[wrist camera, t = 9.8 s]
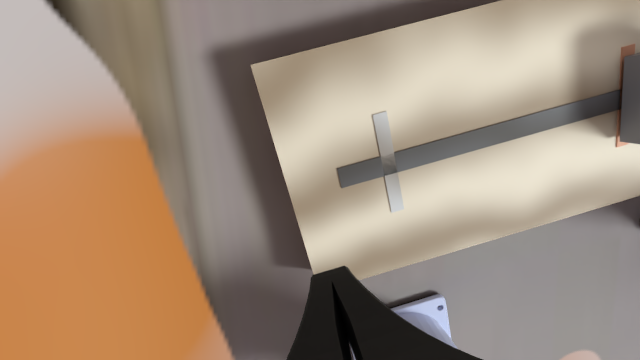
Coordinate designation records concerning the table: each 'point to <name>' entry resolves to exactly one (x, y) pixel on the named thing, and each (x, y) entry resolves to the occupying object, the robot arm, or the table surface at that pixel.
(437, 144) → the console board
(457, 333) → the table surface
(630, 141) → the fader
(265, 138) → the table surface
